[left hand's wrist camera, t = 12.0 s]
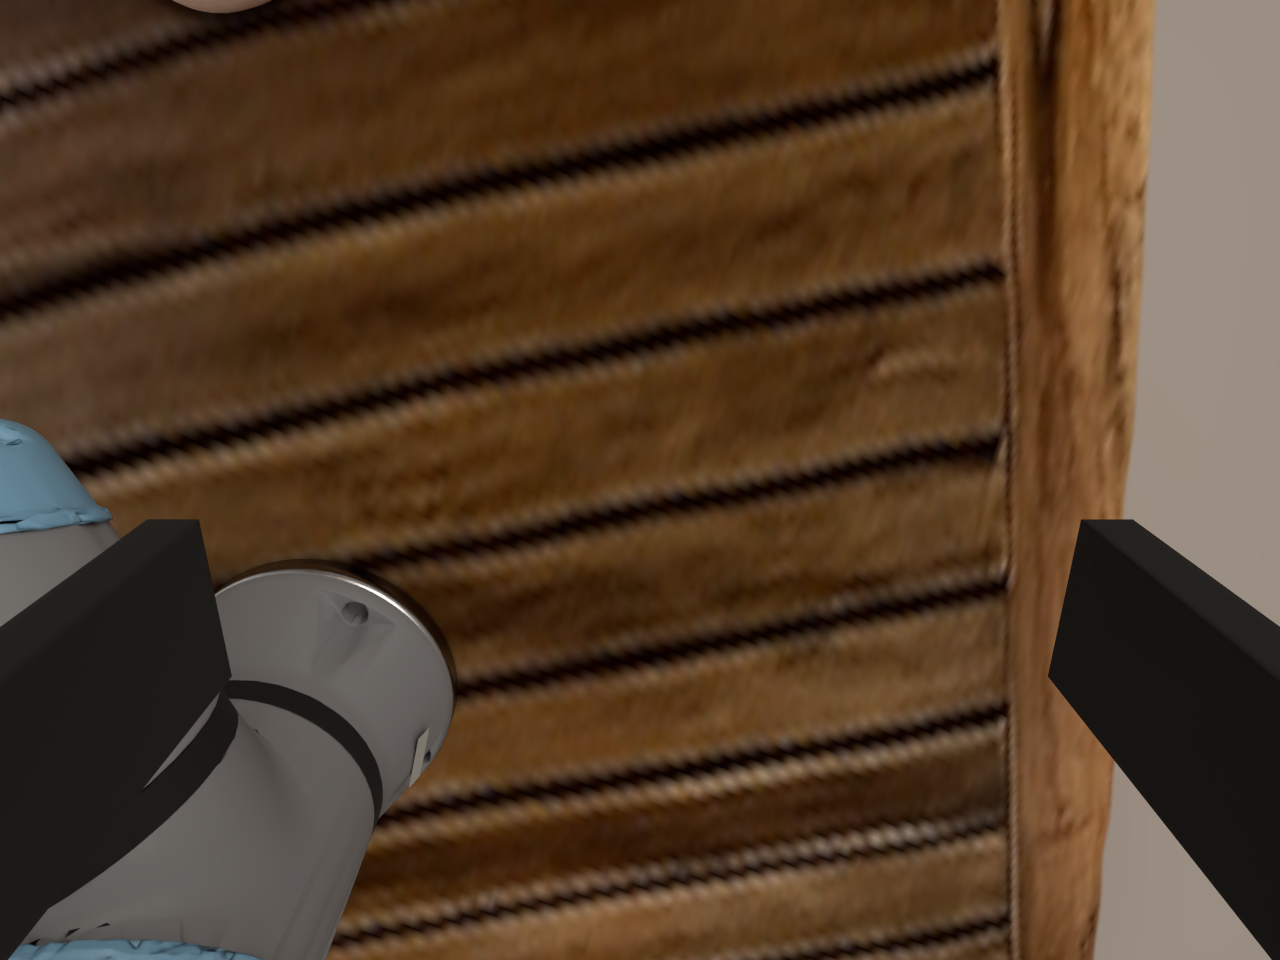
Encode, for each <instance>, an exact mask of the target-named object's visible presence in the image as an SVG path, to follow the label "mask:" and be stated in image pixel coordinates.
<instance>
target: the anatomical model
mask: <svg viewBox="0 0 1280 960" xmlns="http://www.w3.org/2000/svg"><path fill="white" fill-rule="evenodd" d="M173 1H175V2H177V3H179V4H181V5H184V6H186V7H189V8H192V9H195V10H199V11H203V12H209V13H231V12H238V11H243V10H246V9H250V8H253V7H257V6H260V5H262V4H265V3H267V2H269V1H271V0H173Z"/></svg>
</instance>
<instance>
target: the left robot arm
mask: <svg viewBox="0 0 1280 960" xmlns="http://www.w3.org/2000/svg"><path fill="white" fill-rule="evenodd" d="M112 519H113V518H112V516H111V514H110V512H109V510H108V509H107V508H105V507H101V506H98V505H97V504H96V502H95V501H94V500H93V499H92V497H91V496H90V495H89V493H88V492H87V491H86V490H85V488H84V487H83V486H82V484H81V483H80V482H79V480H78V479H77V478H76V477H75V475H74V474H73V473H72V471H71V470H70V469H69V468H68V466H67V465H66V464H65V462H64V461H63V460H62V459H61V457H60V456H59V455H58V453H57V452H56V451H55V449H54V448H53V447H52V446H51V444H50V443H49V442H48V441H47V440H46V439H45V438H44V437H42V436H41V435H40V434H39V433H37V432H36V431H34V430H32V429H31V428H29V427H27V426H25V425H22V424H20V423H16V422H13V421H9V420H4V419H0V960H325V959H326V956H327V954H328V951H329V948H330V946H331V943H332V940H333V938H334V935H335V932H336V930H337V927H338V924H339V922H340V919H341V916H342V914H343V911H344V908H345V906H346V903H347V900H348V898H349V895H350V892H351V890H352V887H353V884H354V881H355V879H356V876H357V873H358V871H359V868H360V865H361V863H362V860H363V857H364V855H365V852H366V849H367V847H368V844H369V841H370V839H371V836H372V833H373V831H374V828H375V826H376V823H377V821H378V819H379V818H380V817H381V815H382V814H383V813H384V812H385V811H386V810H387V809H388V808H389V807H390V806H391V805H392V804H393V803H394V802H395V801H396V800H397V799H398V798H399V797H400V796H401V794H402V793H403V792H404V791H405V790H406V788H407V787H408V786H409V787H410V786H411V785H412V784H413V783H414V782H415V781H416V780H417V779H418V777H419V776H420V775H421V774H422V772H423V771H424V770H425V769H426V768H427V767H428V765H429V764H430V763H431V761H432V760H433V759H434V757H435V756H436V754H437V753H438V751H439V750H440V748H441V746H442V744H443V742H444V740H445V737H446V735H447V732H448V729H449V726H450V723H451V720H452V717H453V715H454V711H455V707H456V701H457V673H456V668H455V664H454V660H453V657H452V654H451V651H450V648H449V646H448V644H447V642H446V640H445V638H444V636H443V634H442V633H441V631H440V629H439V628H438V626H437V625H436V624H435V622H434V621H433V620H432V618H431V617H430V616H429V615H428V614H427V613H426V611H425V610H424V609H423V608H422V607H421V606H420V605H419V604H418V603H417V602H415V601H414V600H413V599H412V598H411V597H410V596H408V595H407V594H406V593H405V592H403V591H402V590H401V589H399V588H397V587H396V586H394V585H393V584H391V583H390V582H388V581H386V580H384V579H382V578H380V577H379V576H376V575H374V574H372V573H370V572H367V571H365V570H362V569H359V568H356V567H353V566H350V565H346V564H342V563H338V562H332V561H326V560H315V559H292V560H283V561H277V562H272V563H268V564H264V565H261V566H258V567H255V568H253V569H250V570H248V571H245V572H243V573H241V574H240V575H238V576H236V577H234V578H233V579H231V580H230V581H228V582H227V583H225V584H224V585H223V586H222V587H221V588H219V589H218V590H217V591H216V592H215V593H214V589H213V584H212V580H211V575H210V570H209V565H208V561H207V556H206V551H205V547H204V542H203V537H202V532H201V528H200V523H199V520H146V521H145V522H143V523H142V524H140V525H139V526H138V527H136V528H135V529H134V530H132V531H131V532H130V533H128V534H127V535H125V536H124V537H123V538H121V539H120V537H119V536H118V535H117V533H116V531H115V530H114V528H113V527H112V525H111V524H110V522H109V521H108V520H112ZM1048 677H1049V678H1050V680H1051V681H1052V682H1053V683H1054V685H1055V686H1056V687H1057V688H1058V690H1059V691H1060V692H1061V693H1062V695H1063V696H1064V697H1065V699H1066V700H1067V701H1068V702H1069V704H1070V705H1071V706H1072V707H1073V709H1074V710H1075V711H1076V712H1077V714H1078V715H1079V716H1080V717H1081V719H1082V720H1083V721H1084V723H1085V724H1086V725H1087V726H1088V728H1089V729H1090V730H1091V731H1092V733H1093V734H1094V735H1095V736H1096V738H1097V739H1098V740H1099V742H1100V743H1101V744H1102V745H1103V747H1104V748H1105V749H1106V750H1107V752H1108V753H1109V754H1110V755H1111V757H1112V758H1113V759H1114V761H1115V762H1116V763H1117V764H1118V766H1119V767H1120V768H1121V769H1122V771H1123V772H1124V773H1125V774H1126V776H1127V777H1128V778H1129V779H1130V781H1131V782H1132V783H1133V784H1134V786H1135V787H1136V788H1137V790H1138V791H1139V792H1140V793H1141V795H1142V796H1143V797H1144V798H1145V800H1146V801H1147V802H1148V804H1149V805H1150V806H1151V807H1152V809H1153V810H1154V811H1155V812H1156V814H1157V815H1158V816H1159V817H1160V819H1161V820H1162V821H1163V822H1164V824H1165V825H1166V826H1167V828H1168V829H1169V830H1170V831H1171V833H1172V834H1173V835H1174V836H1175V838H1176V839H1177V840H1178V841H1179V843H1180V844H1181V845H1182V846H1183V848H1184V849H1185V850H1186V852H1187V853H1188V854H1189V855H1190V857H1191V858H1192V859H1193V860H1194V862H1195V863H1196V864H1197V865H1198V867H1199V868H1200V869H1201V870H1202V872H1203V873H1204V874H1205V876H1206V877H1207V878H1208V879H1209V881H1210V882H1211V883H1212V884H1213V886H1214V887H1215V888H1216V890H1217V891H1218V892H1219V893H1220V895H1221V896H1222V897H1223V898H1224V900H1225V901H1226V902H1227V904H1228V905H1229V906H1230V907H1231V908H1232V910H1233V911H1234V912H1235V914H1236V915H1237V916H1238V917H1239V919H1240V920H1241V921H1242V922H1243V924H1244V925H1245V926H1246V928H1247V929H1248V930H1249V931H1250V932H1251V934H1252V935H1253V936H1254V938H1255V939H1256V940H1257V941H1258V943H1259V944H1260V945H1261V947H1262V948H1263V949H1264V950H1265V952H1266V953H1267V954H1268V955H1269V957H1270V958H1271V959H1272V960H1280V627H1279V626H1278V625H1277V624H1275V623H1274V622H1272V621H1271V620H1270V619H1268V618H1267V617H1266V616H1264V615H1263V614H1262V613H1260V612H1259V611H1257V610H1256V609H1255V608H1253V607H1252V606H1251V605H1249V604H1248V603H1246V602H1245V601H1244V600H1242V599H1241V598H1239V597H1238V596H1237V595H1235V594H1234V593H1233V592H1231V591H1230V590H1229V589H1227V588H1226V587H1225V586H1223V585H1222V584H1220V583H1219V582H1218V581H1216V580H1215V579H1214V578H1212V577H1211V576H1209V575H1208V574H1207V573H1205V572H1204V571H1203V570H1201V569H1200V568H1198V567H1197V566H1196V565H1194V564H1193V563H1192V562H1190V561H1189V560H1187V559H1186V558H1185V557H1183V556H1182V555H1181V554H1179V553H1178V552H1177V551H1175V550H1174V549H1172V548H1171V547H1170V546H1168V545H1167V544H1165V543H1164V542H1163V541H1161V540H1160V539H1159V538H1157V537H1156V536H1155V535H1153V534H1152V533H1150V532H1149V531H1148V530H1146V529H1145V528H1144V527H1142V526H1141V525H1139V524H1138V523H1137V522H1135V521H1134V520H1081V523H1080V528H1079V532H1078V537H1077V542H1076V547H1075V551H1074V556H1073V561H1072V565H1071V570H1070V575H1069V580H1068V584H1067V589H1066V594H1065V598H1064V603H1063V608H1062V613H1061V617H1060V622H1059V627H1058V631H1057V636H1056V641H1055V646H1054V650H1053V655H1052V660H1051V664H1050V669H1049V674H1048Z"/></svg>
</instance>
